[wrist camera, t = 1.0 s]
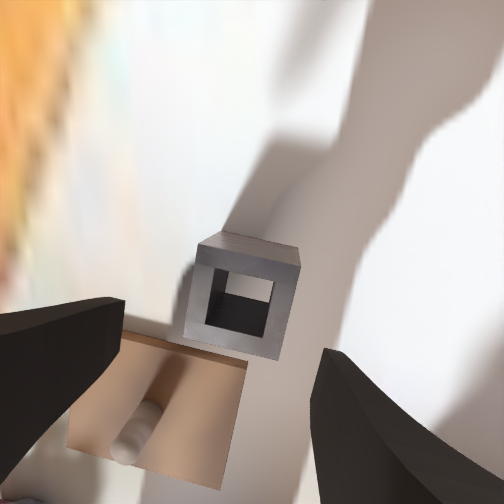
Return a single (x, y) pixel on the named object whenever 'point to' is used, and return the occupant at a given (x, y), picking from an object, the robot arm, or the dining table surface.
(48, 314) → the robot arm
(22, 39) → the dining table surface
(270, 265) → the collar
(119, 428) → the shaft block
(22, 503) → the red grey chunky piece
